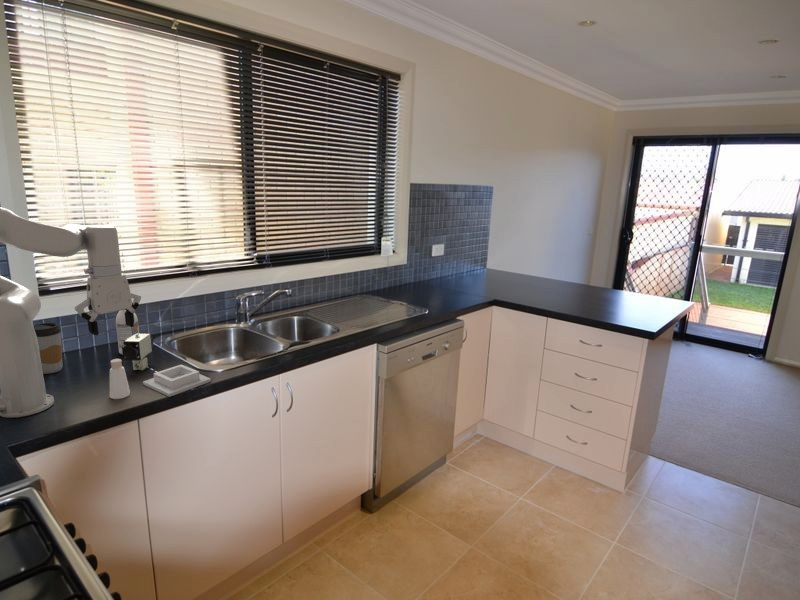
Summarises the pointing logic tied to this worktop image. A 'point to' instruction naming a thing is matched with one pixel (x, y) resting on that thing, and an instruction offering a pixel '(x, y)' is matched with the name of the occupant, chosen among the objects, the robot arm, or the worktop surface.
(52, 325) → the coffee cup
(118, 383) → the salt shaker
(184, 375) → the flange
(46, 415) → the worktop surface
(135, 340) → the pneumatic valve
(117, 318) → the bath foam
